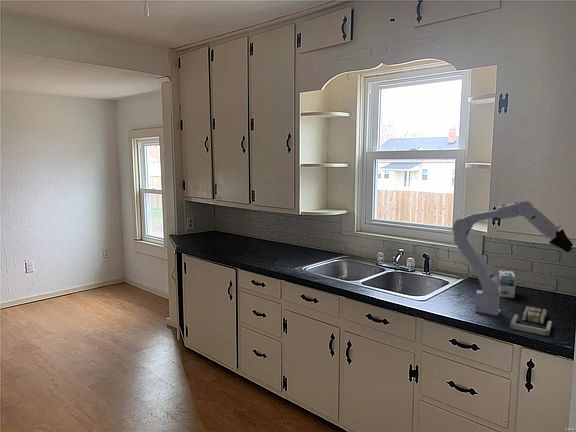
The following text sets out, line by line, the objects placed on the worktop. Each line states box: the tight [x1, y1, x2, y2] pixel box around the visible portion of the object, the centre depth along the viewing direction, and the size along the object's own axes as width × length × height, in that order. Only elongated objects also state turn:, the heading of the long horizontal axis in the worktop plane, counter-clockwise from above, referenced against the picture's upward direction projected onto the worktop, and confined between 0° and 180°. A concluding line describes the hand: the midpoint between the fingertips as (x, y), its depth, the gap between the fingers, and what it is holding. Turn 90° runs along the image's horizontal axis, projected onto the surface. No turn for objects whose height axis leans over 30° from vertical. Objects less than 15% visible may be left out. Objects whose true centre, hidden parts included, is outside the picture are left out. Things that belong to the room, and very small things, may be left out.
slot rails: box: [521, 305, 547, 325], centre depth 183 cm, size 8×12×2 cm, turn 145°
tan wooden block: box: [526, 310, 541, 324], centre depth 180 cm, size 4×4×3 cm
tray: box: [509, 314, 553, 337], centre depth 173 cm, size 13×12×2 cm
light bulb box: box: [498, 270, 517, 299], centre depth 212 cm, size 11×7×11 cm, turn 158°
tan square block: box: [529, 306, 542, 317], centre depth 185 cm, size 4×4×3 cm
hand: (570, 248), depth 170 cm, fingers open, 7 cm apart
